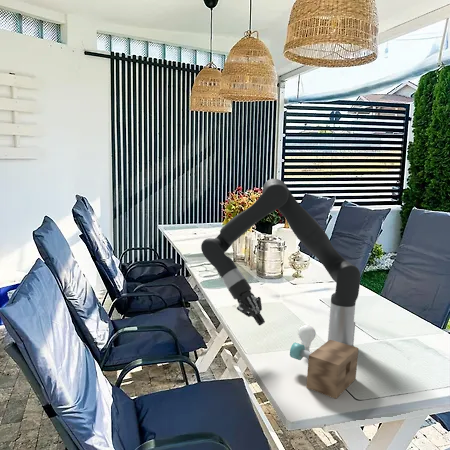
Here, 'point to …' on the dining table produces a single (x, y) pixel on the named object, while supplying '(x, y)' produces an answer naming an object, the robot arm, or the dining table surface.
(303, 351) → the knob
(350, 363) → the mount
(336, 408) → the dining table surface
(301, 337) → the lightbulb
